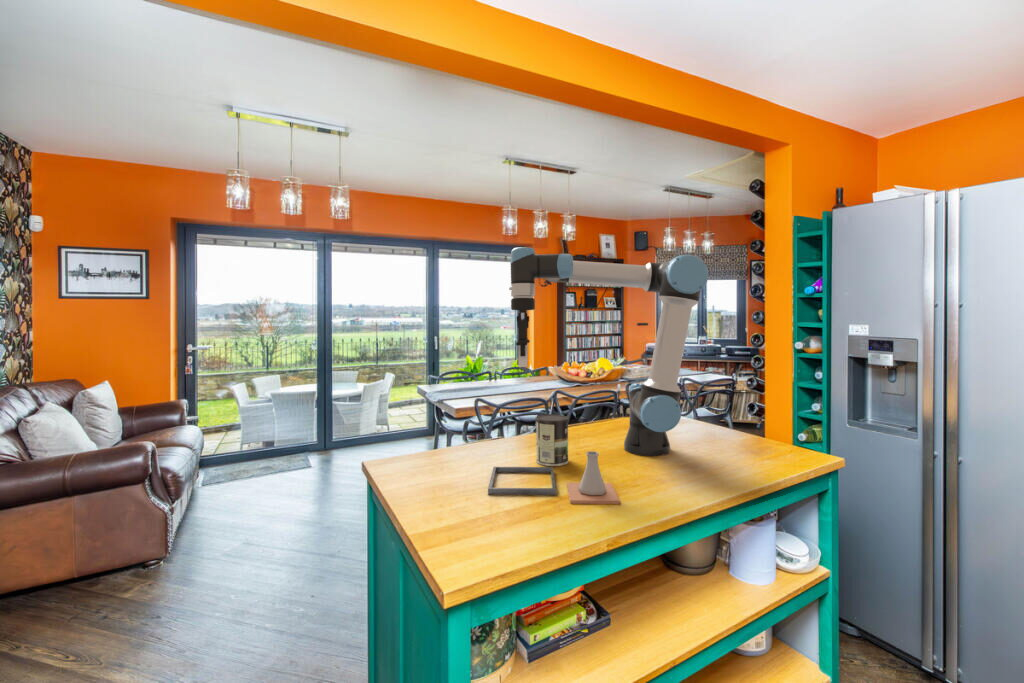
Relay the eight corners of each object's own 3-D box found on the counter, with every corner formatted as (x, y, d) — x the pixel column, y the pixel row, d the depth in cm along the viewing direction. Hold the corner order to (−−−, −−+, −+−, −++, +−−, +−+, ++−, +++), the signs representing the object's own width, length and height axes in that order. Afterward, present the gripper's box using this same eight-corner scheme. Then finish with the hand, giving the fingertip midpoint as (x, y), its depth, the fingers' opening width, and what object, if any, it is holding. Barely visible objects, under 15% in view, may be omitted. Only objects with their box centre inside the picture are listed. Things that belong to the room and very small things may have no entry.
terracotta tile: (611, 485, 123) (611, 482, 123) (619, 503, 111) (619, 500, 111) (566, 485, 123) (566, 482, 123) (570, 503, 112) (570, 500, 111)
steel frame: (553, 472, 134) (553, 467, 134) (556, 495, 117) (556, 489, 117) (493, 471, 135) (493, 466, 135) (488, 494, 118) (487, 488, 118)
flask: (607, 487, 120) (607, 449, 119) (606, 497, 113) (606, 457, 112) (579, 484, 122) (579, 448, 121) (576, 495, 115) (576, 456, 114)
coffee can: (566, 456, 150) (566, 413, 149) (570, 466, 139) (570, 421, 139) (535, 456, 150) (535, 414, 149) (536, 466, 140) (536, 421, 139)
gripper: (512, 299, 156) (513, 361, 157) (509, 295, 131) (509, 369, 132) (534, 299, 156) (534, 361, 157) (535, 295, 131) (535, 369, 132)
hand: (523, 364), depth 144 cm, fingers open, 13 cm apart
